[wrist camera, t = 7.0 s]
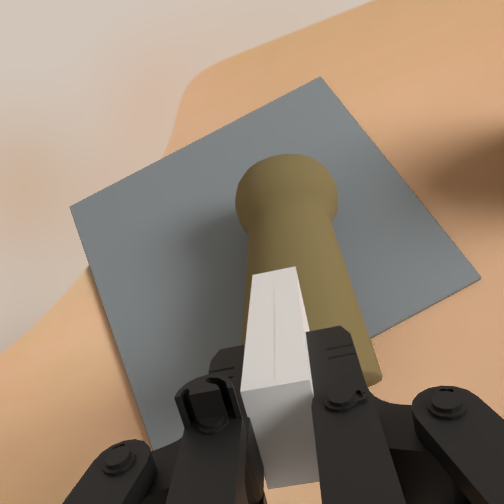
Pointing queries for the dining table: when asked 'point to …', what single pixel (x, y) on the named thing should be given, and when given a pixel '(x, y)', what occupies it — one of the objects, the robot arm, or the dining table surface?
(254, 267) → the cork
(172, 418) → the mat
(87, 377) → the dining table surface
